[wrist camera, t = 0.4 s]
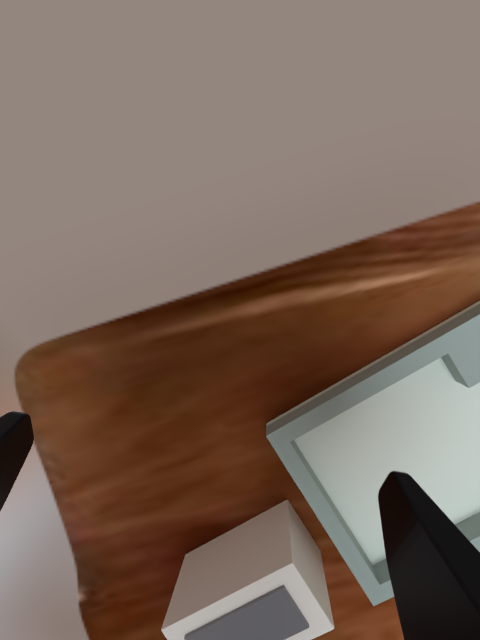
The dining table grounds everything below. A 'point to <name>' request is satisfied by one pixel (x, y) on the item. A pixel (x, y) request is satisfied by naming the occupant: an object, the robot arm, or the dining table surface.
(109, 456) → the dining table surface
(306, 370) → the dining table surface
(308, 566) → the socket block
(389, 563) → the robot arm
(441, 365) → the keyhole tray
